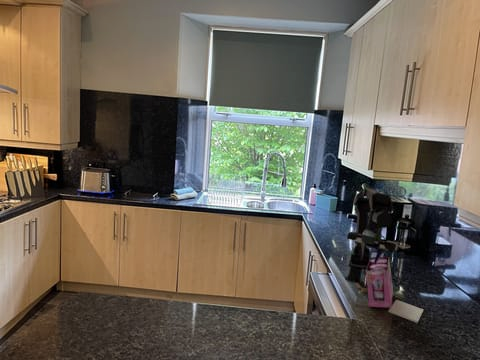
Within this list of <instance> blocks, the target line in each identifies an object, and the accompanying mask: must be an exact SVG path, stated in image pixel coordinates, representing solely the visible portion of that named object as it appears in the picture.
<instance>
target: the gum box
mask: <svg viewBox="0 0 480 360" xmlns="http://www.w3.org/2000/svg"><path fill="white" fill-rule="evenodd" d="M375 258H376V256H375V257H371V256H370V261H369V264H368V267H367V269H366V270H365V274H366V284H367V295H368V306H369V307H372V308H374V307H375V308H389V309H390V308H391V306H392V304H393V292H394V288H393V277H392V271H391V270H392V269H391V261H390V256H388V257H387V256H383V257H382V256H380V258H379V260H378V261H377V263H376V264H374V262H375Z"/></svg>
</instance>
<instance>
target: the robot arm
mask: <svg viewBox="0 0 480 360" xmlns="http://www.w3.org/2000/svg"><path fill="white" fill-rule="evenodd" d="M353 207H354V209H353V210H354V212H355V214H356V217H357V219H356V228H355V229H356V231H349V232H348V233H347V236H346V239H347V240H352V241H354V245H355V246H354V247H353V248H352V249H351V251H350V253H349V254H348V256H347V258H346V265H347V267H349V269H348V274H347V276H345V277H344V280H347V281H350V282H353V283H356V284H361V283H362V282H363V281H364V279H363V278H362V276H363V272H364V270H365V271H366V269H367V267H368V264H369V261H370V258H371V256H370V253H371V250H370V248H368V247H367V244H369V245H377V246H379V247H377V252H376V255H375V257H376V258H375V262H374V264H376V263H377V261H378V260H379V258H380V257H382V255H383V254H384V252H386V251H393V252H396V251H398V249H399V244H398V242H395V241H393V240H392V241H391V240H386V241H384V240H382V238H383V237H382V236H383V235H382V232H383V230H384V229H386V228H389V227H391V225H392V223H393V217H392V216H391V214H390V213H393V212H392V211H393V209H394V207H393V200H392V197H391V195H390V194H389V193H385V192H384V193H382V192H379V191H377V190H376V189H375V188H371V187H370V188H369V187H364V188H363V189H362V191H360V192H358V193H356V195H355V197H354V199H353Z"/></svg>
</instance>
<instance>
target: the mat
mask: <svg viewBox="0 0 480 360" xmlns="http://www.w3.org/2000/svg"><path fill="white" fill-rule="evenodd" d="M387 312H388V313H390V314H393V315H395V316H398V317H399V318H404V319H406V320H408V321H411V322H414V323H416V324H418V323H419V321H420V318H421V317H422V315H423V312H424V309H423V308H419V307H417V306H415V305H412V304H410V303H406V302H403V301H402V300H398V299H395V301H394V302H393V303H392V304H391V308H389V309H388V311H387Z"/></svg>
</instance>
